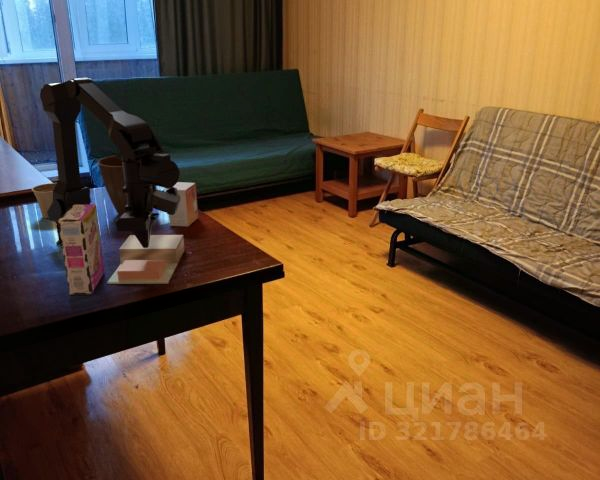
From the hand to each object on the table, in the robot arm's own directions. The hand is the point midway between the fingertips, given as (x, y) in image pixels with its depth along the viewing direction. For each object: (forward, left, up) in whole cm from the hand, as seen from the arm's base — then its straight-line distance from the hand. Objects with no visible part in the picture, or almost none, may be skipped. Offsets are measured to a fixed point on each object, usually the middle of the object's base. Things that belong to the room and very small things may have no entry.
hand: (146, 247), depth 127 cm
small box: (+2, +31, -5) cm, 32 cm away
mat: (0, -4, -5) cm, 6 cm away
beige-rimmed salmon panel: (0, -5, -2) cm, 5 cm away
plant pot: (-15, +39, -5) cm, 42 cm away
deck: (0, +6, -5) cm, 7 cm away
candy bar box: (-11, -9, -5) cm, 15 cm away
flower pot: (-37, +37, -5) cm, 52 cm away
